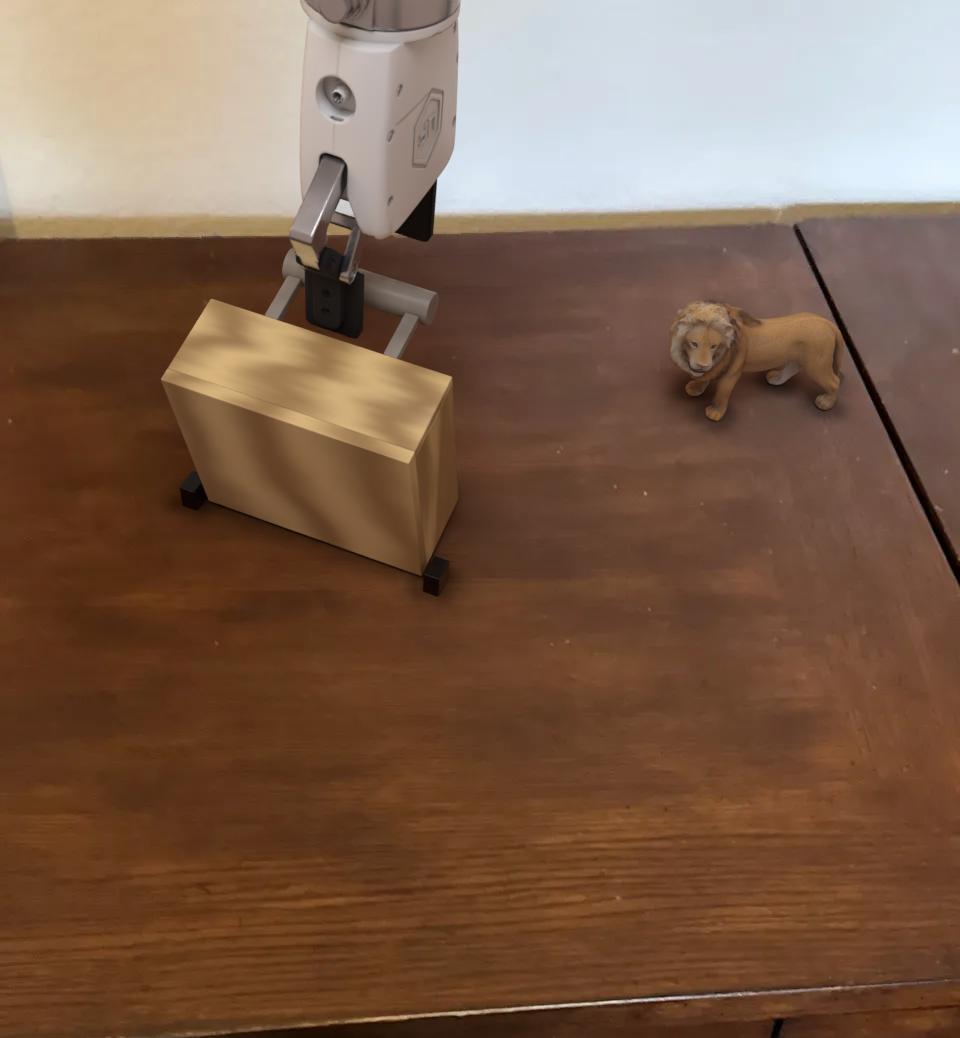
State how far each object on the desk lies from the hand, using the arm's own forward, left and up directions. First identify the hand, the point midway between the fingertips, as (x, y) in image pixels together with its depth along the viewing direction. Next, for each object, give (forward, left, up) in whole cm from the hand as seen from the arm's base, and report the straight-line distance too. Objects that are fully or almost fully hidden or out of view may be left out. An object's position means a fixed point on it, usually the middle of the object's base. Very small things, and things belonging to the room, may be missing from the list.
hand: (371, 278), depth 71 cm
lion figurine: (+21, +15, -13) cm, 29 cm away
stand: (0, -9, -13) cm, 16 cm away
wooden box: (0, -11, -7) cm, 13 cm away
